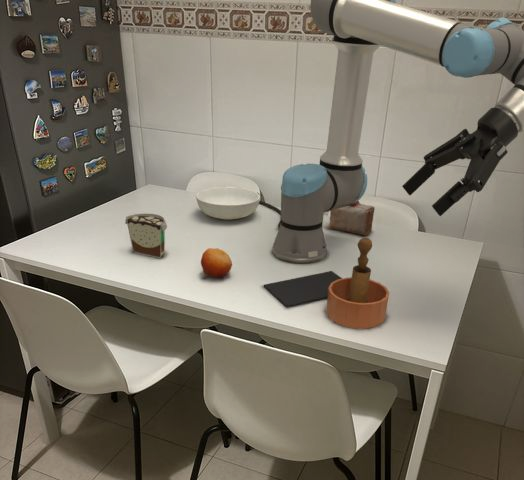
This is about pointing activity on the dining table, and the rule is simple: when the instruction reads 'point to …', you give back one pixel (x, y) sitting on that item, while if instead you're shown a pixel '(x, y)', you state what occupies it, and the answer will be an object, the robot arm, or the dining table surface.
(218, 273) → the fruit
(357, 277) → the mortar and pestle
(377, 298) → the copper pot
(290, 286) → the rubber mat
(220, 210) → the serving bowl
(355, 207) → the food item
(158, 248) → the food container
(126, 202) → the dining table surface
